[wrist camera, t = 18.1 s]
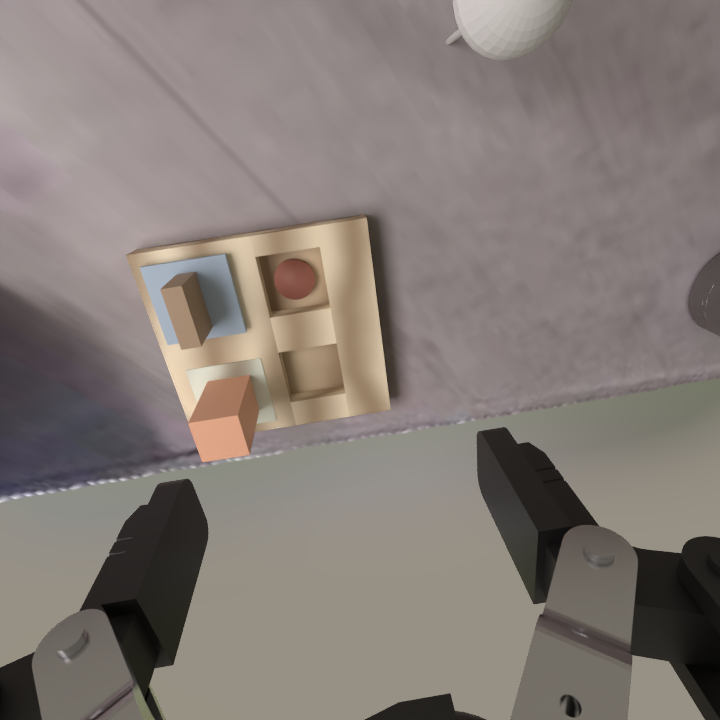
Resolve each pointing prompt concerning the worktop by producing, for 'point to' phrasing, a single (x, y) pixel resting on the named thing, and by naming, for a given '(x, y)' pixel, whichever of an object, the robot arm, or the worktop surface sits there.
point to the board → (288, 322)
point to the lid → (194, 299)
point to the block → (225, 419)
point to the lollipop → (507, 25)
